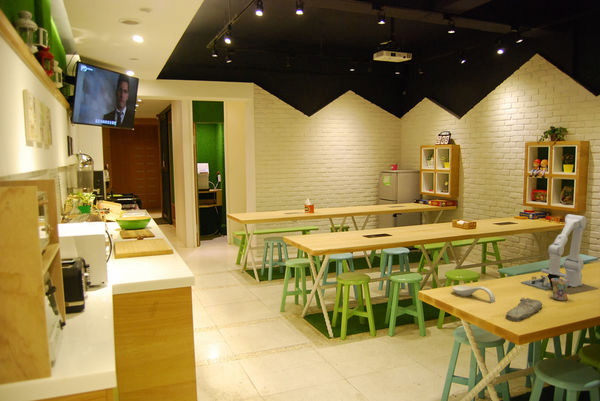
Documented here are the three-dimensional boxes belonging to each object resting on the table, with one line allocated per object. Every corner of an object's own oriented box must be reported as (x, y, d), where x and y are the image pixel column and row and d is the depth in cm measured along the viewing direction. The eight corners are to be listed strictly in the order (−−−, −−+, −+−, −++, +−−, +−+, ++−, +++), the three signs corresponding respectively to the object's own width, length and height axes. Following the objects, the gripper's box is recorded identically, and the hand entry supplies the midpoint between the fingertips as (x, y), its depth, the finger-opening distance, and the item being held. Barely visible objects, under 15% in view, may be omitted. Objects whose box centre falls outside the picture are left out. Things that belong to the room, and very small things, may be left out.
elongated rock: (499, 320, 224) (520, 328, 217) (500, 311, 223) (521, 317, 216) (526, 301, 248) (546, 307, 240) (528, 292, 246) (547, 298, 239)
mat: (535, 280, 290) (535, 278, 290) (560, 286, 276) (560, 285, 276) (520, 283, 282) (521, 282, 282) (545, 290, 269) (545, 289, 268)
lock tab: (533, 279, 286) (534, 276, 286) (536, 280, 285) (536, 276, 285) (531, 280, 285) (531, 276, 285) (533, 281, 284) (534, 277, 283)
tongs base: (541, 280, 286) (541, 276, 285) (546, 282, 283) (546, 277, 282) (529, 283, 280) (529, 278, 279) (534, 284, 277) (534, 280, 276)
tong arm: (540, 280, 285) (541, 275, 285) (548, 281, 283) (548, 276, 283) (538, 285, 275) (539, 279, 274) (546, 286, 273) (546, 281, 272)
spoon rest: (448, 294, 260) (449, 282, 259) (458, 290, 268) (459, 278, 267) (488, 305, 243) (489, 292, 242) (498, 300, 250) (499, 287, 250)
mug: (572, 301, 249) (573, 283, 248) (555, 301, 249) (557, 282, 248) (559, 294, 261) (561, 276, 260) (543, 294, 261) (545, 276, 260)
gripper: (538, 262, 272) (537, 284, 274) (562, 268, 260) (560, 291, 262) (545, 261, 276) (544, 282, 277) (569, 267, 263) (567, 289, 265)
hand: (552, 286), depth 270 cm, fingers closed
